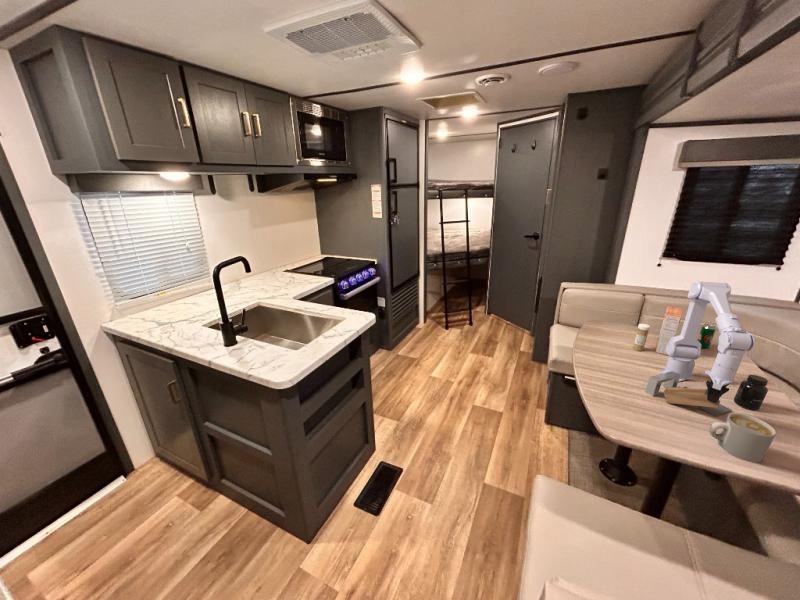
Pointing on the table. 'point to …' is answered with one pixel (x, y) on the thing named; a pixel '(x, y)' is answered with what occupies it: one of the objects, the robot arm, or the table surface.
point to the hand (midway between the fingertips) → (712, 398)
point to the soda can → (706, 335)
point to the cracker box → (668, 328)
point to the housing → (655, 382)
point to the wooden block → (688, 397)
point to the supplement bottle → (751, 392)
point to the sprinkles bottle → (641, 337)
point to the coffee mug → (744, 436)
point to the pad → (715, 409)
